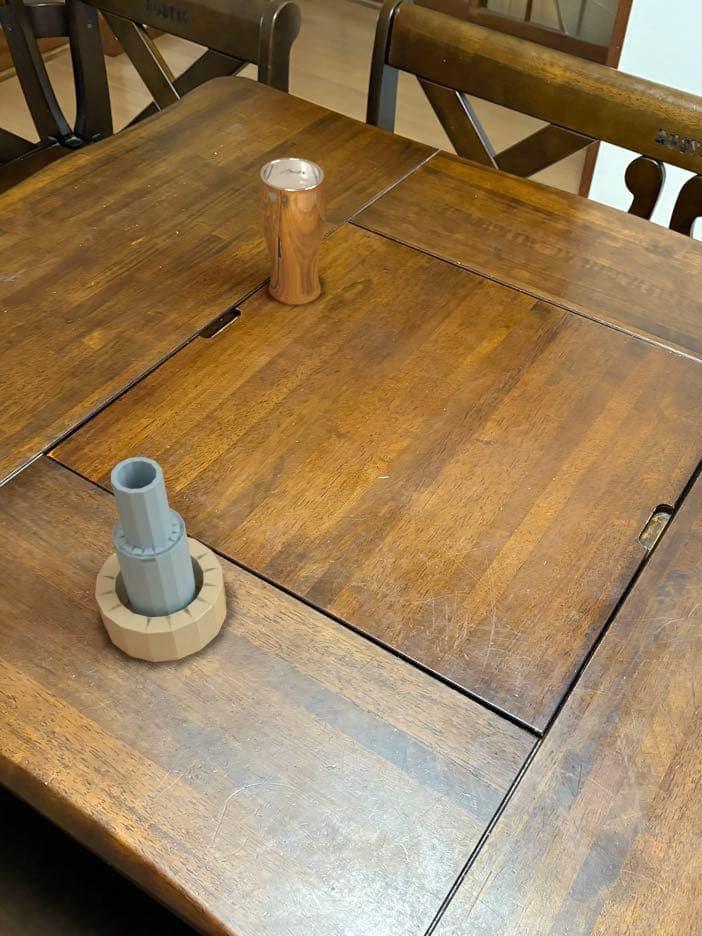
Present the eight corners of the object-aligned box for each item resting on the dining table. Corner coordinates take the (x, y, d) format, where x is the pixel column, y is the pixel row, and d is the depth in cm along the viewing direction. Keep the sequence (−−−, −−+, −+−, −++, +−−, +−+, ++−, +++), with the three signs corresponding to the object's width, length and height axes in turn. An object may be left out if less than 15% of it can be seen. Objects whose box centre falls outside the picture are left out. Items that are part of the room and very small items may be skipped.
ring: (103, 672, 73) (91, 638, 69) (109, 575, 79) (99, 538, 75) (228, 661, 74) (223, 626, 70) (225, 566, 80) (220, 529, 76)
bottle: (134, 645, 74) (95, 505, 61) (136, 593, 77) (98, 450, 64) (200, 638, 75) (175, 499, 62) (198, 587, 78) (174, 445, 65)
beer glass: (317, 318, 104) (317, 196, 92) (257, 308, 104) (249, 185, 92) (331, 283, 108) (332, 162, 96) (273, 273, 108) (268, 151, 97)
